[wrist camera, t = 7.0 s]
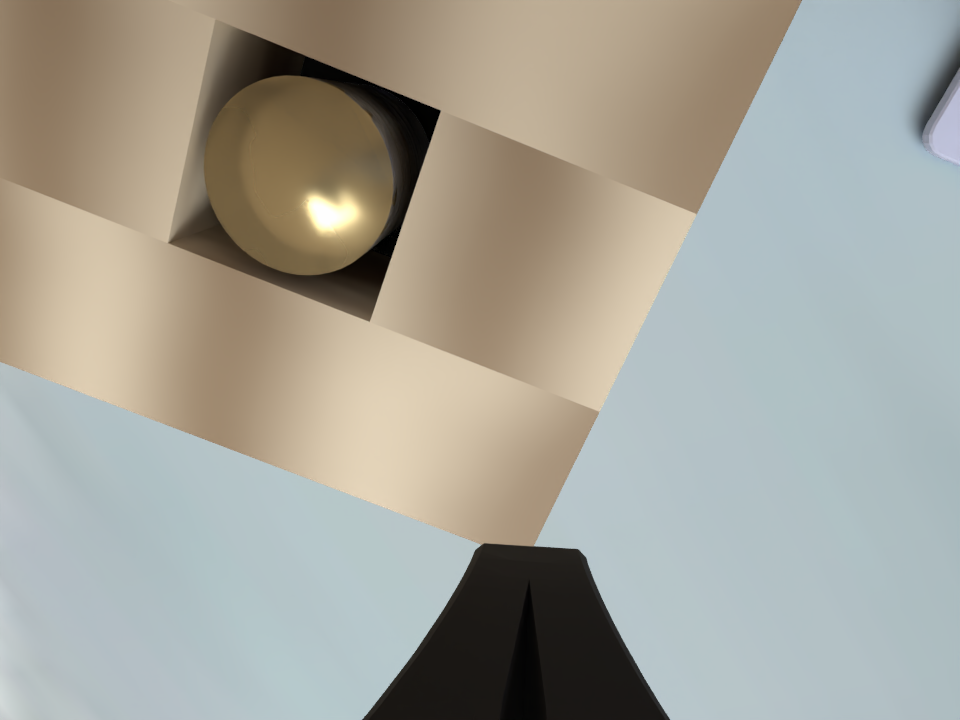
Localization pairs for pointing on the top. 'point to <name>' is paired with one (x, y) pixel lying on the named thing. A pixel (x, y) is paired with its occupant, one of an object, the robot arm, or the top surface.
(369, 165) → the peg
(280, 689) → the top surface
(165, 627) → the top surface
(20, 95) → the twin-bore block
